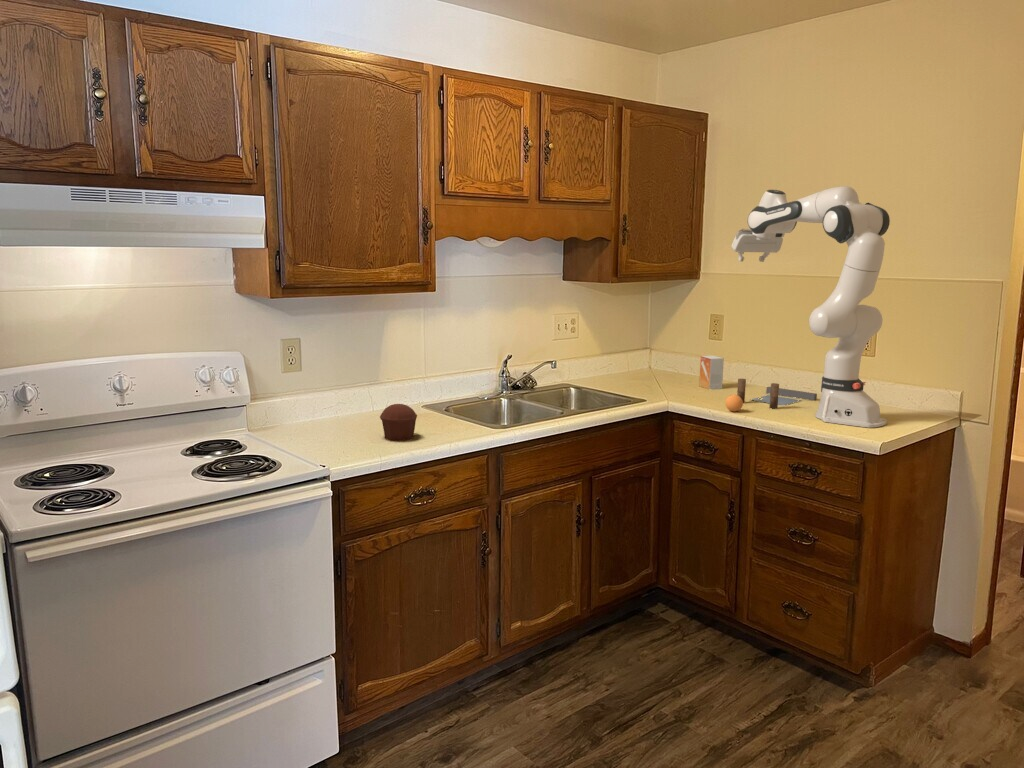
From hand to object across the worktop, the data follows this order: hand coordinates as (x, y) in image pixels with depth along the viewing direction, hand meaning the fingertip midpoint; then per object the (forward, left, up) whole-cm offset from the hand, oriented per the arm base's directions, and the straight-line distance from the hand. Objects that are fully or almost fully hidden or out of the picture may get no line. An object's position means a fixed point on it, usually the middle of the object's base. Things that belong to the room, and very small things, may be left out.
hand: (750, 260), depth 310 cm
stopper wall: (-20, -1, -52) cm, 56 cm away
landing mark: (-20, +11, -52) cm, 57 cm away
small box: (+12, +6, -53) cm, 54 cm away
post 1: (-14, +25, -52) cm, 60 cm away
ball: (-20, +41, -49) cm, 67 cm away
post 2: (-27, +25, -52) cm, 64 cm away
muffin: (+28, +152, -53) cm, 163 cm away
